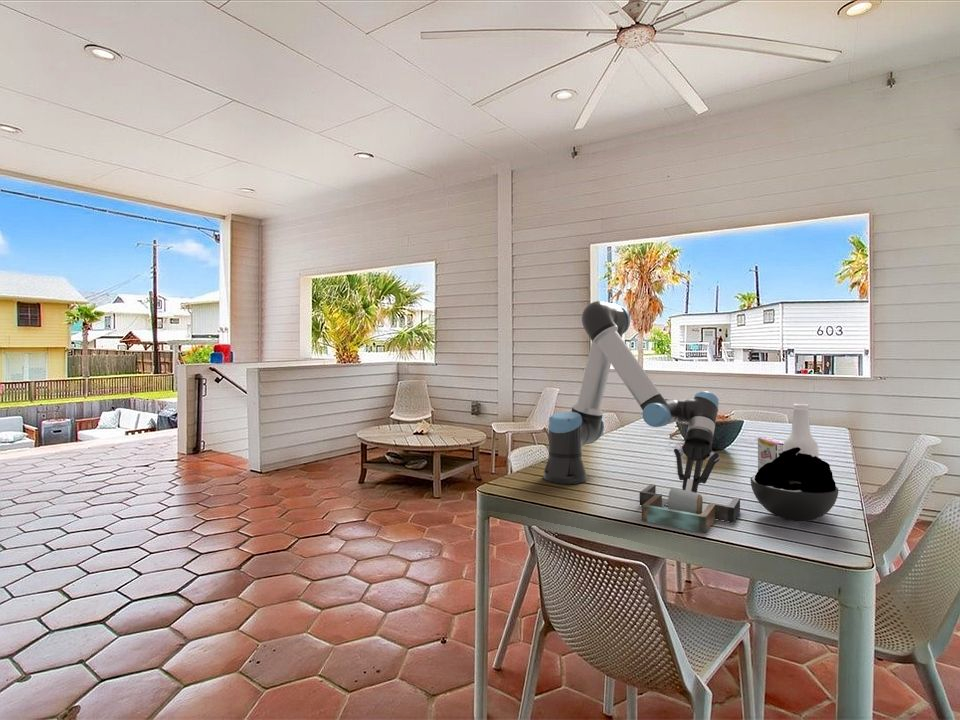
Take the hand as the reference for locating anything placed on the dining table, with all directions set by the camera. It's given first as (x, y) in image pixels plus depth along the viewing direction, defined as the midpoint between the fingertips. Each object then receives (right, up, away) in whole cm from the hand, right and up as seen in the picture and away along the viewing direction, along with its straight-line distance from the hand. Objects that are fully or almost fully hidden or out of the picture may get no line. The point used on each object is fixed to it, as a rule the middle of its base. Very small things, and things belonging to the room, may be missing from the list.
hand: (687, 501), depth 138 cm
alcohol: (+36, -3, +7) cm, 37 cm away
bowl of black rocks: (+26, -3, -6) cm, 27 cm away
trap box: (-2, -3, -2) cm, 4 cm away
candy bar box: (+38, -3, +23) cm, 45 cm away
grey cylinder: (-2, -3, -3) cm, 5 cm away
